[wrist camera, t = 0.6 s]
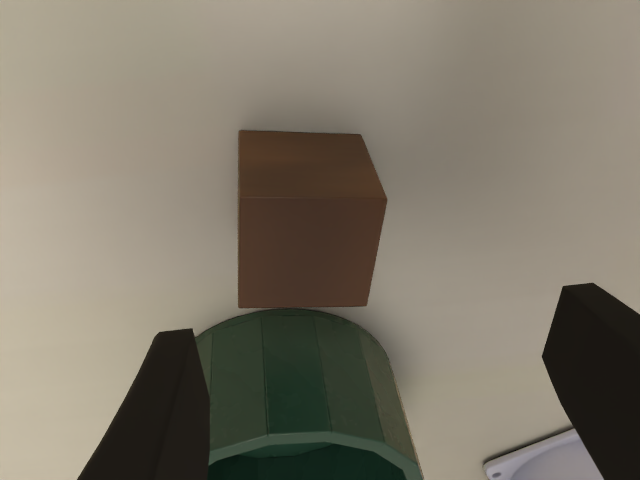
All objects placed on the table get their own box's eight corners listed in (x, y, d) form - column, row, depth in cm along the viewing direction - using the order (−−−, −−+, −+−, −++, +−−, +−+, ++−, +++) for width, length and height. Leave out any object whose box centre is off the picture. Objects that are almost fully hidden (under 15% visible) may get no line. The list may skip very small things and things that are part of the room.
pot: (373, 450, 29) (399, 567, 25) (171, 462, 28) (158, 589, 23) (410, 306, 23) (453, 425, 19) (154, 310, 22) (132, 441, 17)
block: (361, 133, 18) (388, 198, 15) (346, 232, 21) (366, 307, 17) (238, 129, 18) (239, 196, 14) (237, 232, 20) (237, 309, 17)
